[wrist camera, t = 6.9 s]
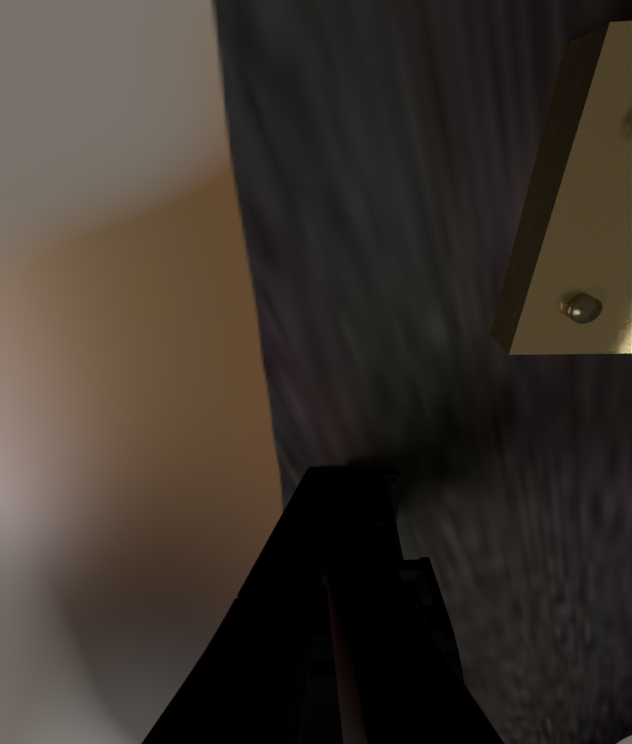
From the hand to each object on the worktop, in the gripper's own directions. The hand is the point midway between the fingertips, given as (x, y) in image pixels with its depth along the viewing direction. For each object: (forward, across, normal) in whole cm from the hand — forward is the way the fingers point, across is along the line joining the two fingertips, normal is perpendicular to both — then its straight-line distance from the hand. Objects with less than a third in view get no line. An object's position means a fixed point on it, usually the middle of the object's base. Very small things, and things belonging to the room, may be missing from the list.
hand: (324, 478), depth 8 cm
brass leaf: (+12, -14, -5) cm, 19 cm away
